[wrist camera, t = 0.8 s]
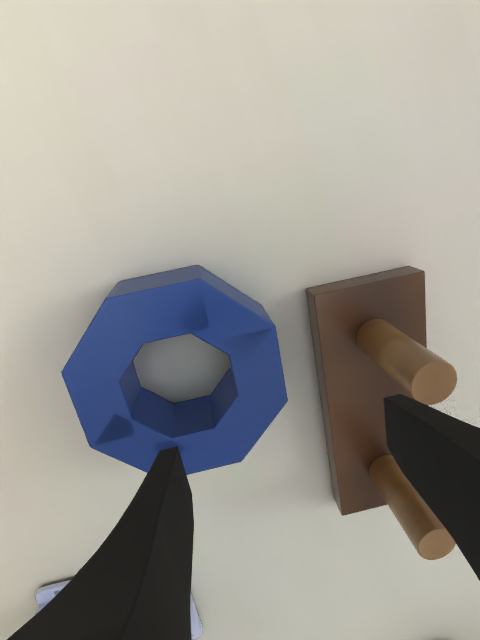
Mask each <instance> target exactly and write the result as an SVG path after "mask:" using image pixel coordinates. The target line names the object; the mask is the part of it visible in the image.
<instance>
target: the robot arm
mask: <svg viewBox="0 0 480 640" xmlns="http://www.w3.org/2000/svg"><path fill="white" fill-rule="evenodd" d="M384 412H385V426H386V440H387V447H388V449H389V451H390V453H391V454H392V456H393V458H394V460H395V461H396V463H397V465H398V466H399V468H400V470H401V471H402V473H403V474H404V475H405V477H406V478H407V479H408V481H409V482H410V483H411V485H412V486H413V487H414V489H415V490H416V491H417V492H418V494H419V495H420V496H421V498H422V499H423V500H424V501H425V503H426V504H427V505H428V507H429V508H430V509H431V510H432V512H433V513H434V514H435V516H436V517H437V518H438V519H439V521H440V522H441V523H442V525H443V526H444V527H445V528H446V530H447V531H448V533H449V534H450V535H451V537H452V538H453V540H454V541H455V542H456V544H457V545H458V547H459V549H460V550H461V552H462V553H463V555H464V556H465V558H466V560H467V561H468V563H469V564H470V566H471V567H472V569H473V571H474V572H475V574H476V575H477V577H478V579H479V580H480V428H478V427H475V426H473V425H470V424H468V423H465V422H463V421H461V420H458V419H456V418H454V417H451V416H449V415H447V414H445V413H442V412H440V411H438V410H436V409H434V408H432V407H429V406H427V405H425V404H423V403H421V402H419V401H416V400H414V399H412V398H410V397H407V396H405V395H402V394H397V395H393V396H389V397H384ZM193 532H194V518H193V503H192V493H191V489H190V486H189V483H188V479H187V476H186V472H185V469H184V466H183V462H182V459H181V455H180V452H179V448H178V446H177V447H173V448H168V449H164V450H160V451H159V453H158V454H157V456H156V458H155V460H154V462H153V464H152V466H151V468H150V470H149V471H148V473H147V475H146V477H145V479H144V481H143V483H142V484H141V486H140V488H139V490H138V491H137V493H136V495H135V496H134V498H133V500H132V502H131V503H130V505H129V506H128V508H127V509H126V511H125V512H124V514H123V516H122V517H121V519H120V520H119V522H118V523H117V525H116V526H115V527H114V529H113V530H112V532H111V533H110V534H109V536H108V537H107V539H106V540H105V541H104V542H103V544H102V545H101V546H100V548H99V549H98V550H97V551H96V552H95V554H94V555H93V556H92V557H91V558H90V559H89V560H88V562H87V563H86V564H85V565H84V566H83V567H82V568H81V569H80V571H79V572H78V573H77V574H76V575H75V576H74V577H73V578H72V579H71V580H67V581H63V582H59V583H55V584H51V585H47V586H43V587H41V588H39V589H38V590H37V592H36V595H35V599H36V601H37V602H38V604H39V606H38V609H37V612H36V614H35V616H34V617H33V618H31V619H30V620H29V621H28V622H27V623H26V624H24V625H23V626H22V627H21V628H20V629H19V630H17V631H16V632H15V633H14V634H13V635H12V636H11V637H9V638H8V639H7V640H192V639H195V638H198V637H200V636H201V635H202V625H201V622H200V619H199V616H198V613H197V609H196V606H195V603H194V600H193V597H192V594H191V575H192V554H193Z"/></svg>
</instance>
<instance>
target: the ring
mask: <svg viewBox="0 0 480 640" xmlns="http://www.w3.org/2000/svg"><path fill="white" fill-rule="evenodd" d="M189 333H191V334H193V335H195V336H196V337H198V338H200V339H202V340H203V341H205V342H207V343H208V344H210V345H212V346H214V347H215V348H217V349H219V350H221V351H222V352H224V353H226V354H228V355H229V359H230V364H231V367H230V369H229V370H228V371H227V373H226V374H225V376H224V377H223V378H222V380H221V381H220V383H219V384H218V385H217V387H216V388H215V390H214V391H213V393H212V394H211V395H209V396H205V397H200V398H196V399H192V400H187V401H183V402H179V403H172V402H170V401H168V400H166V399H164V398H162V397H160V396H158V395H156V394H154V393H152V392H150V391H148V390H146V389H144V388H142V387H141V386H140V383H139V379H138V376H137V373H136V370H135V367H134V364H133V359H134V357H135V356H136V354H137V353H138V351H139V350H140V348H141V346H142V345H143V343H148V342H152V341H157V340H161V339H166V338H170V337H175V336H179V335H184V334H189ZM61 373H62V376H63V379H64V381H65V384H66V386H67V389H68V391H69V394H70V397H71V399H72V402H73V404H74V407H75V410H76V412H77V415H78V417H79V420H80V422H81V425H82V428H83V430H84V433H85V435H86V438H87V441H88V443H89V446H90V447H91V448H93V449H95V450H97V451H100V452H102V453H104V454H106V455H109V456H111V457H113V458H115V459H118V460H120V461H122V462H124V463H127V464H129V465H131V466H133V467H136V468H138V469H140V470H142V471H145V472H147V473H148V471H149V470H150V468H151V466H152V464H153V462H154V460H155V458H156V456H157V454H158V453H159V451H160V450H164V449H168V448H173V447H177V446H178V448H179V452H180V455H181V459H182V462H183V466H184V469H185V472H186V475H188V474H192V473H196V472H200V471H204V470H209V469H213V468H217V467H221V466H225V465H229V464H233V463H238V462H241V461H242V460H243V459H244V458H245V456H246V455H247V454H248V452H249V451H250V450H251V448H252V447H253V446H254V444H255V443H256V442H257V441H258V439H259V438H260V437H261V435H262V434H263V433H264V431H265V430H266V429H267V427H268V426H269V425H270V424H271V422H272V421H273V420H274V418H275V417H276V416H277V414H278V413H279V412H280V410H281V409H282V408H283V407H284V405H285V404H286V403H287V401H288V399H287V393H286V387H285V381H284V375H283V369H282V363H281V357H280V351H279V345H278V339H277V333H276V327H275V325H274V324H273V322H272V320H271V319H270V317H269V316H268V314H267V312H266V311H265V309H264V308H263V306H262V305H261V304H259V303H258V302H256V301H255V300H253V299H251V298H250V297H248V296H247V295H245V294H244V293H242V292H240V291H239V290H237V289H236V288H234V287H233V286H231V285H229V284H228V283H226V282H225V281H223V280H222V279H220V278H218V277H217V276H215V275H214V274H212V273H211V272H209V271H207V270H206V269H204V268H203V267H201V266H198V265H194V266H189V267H185V268H180V269H175V270H170V271H166V272H161V273H156V274H151V275H147V276H142V277H137V278H133V279H128V280H123V281H120V282H118V283H117V285H116V286H115V287H114V289H113V290H112V291H111V292H110V294H109V295H108V296H107V297H106V299H105V300H104V302H103V304H102V305H101V307H100V309H99V310H98V312H97V314H96V315H95V317H94V319H93V320H92V322H91V324H90V325H89V327H88V329H87V330H86V332H85V334H84V335H83V337H82V339H81V340H80V342H79V344H78V345H77V347H76V349H75V350H74V352H73V354H72V355H71V357H70V359H69V360H68V362H67V364H66V365H65V367H64V369H63V370H62V372H61Z"/></svg>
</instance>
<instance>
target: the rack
mask: <svg viewBox="0 0 480 640" xmlns="http://www.w3.org/2000/svg"><path fill="white" fill-rule="evenodd" d="M306 293H307V301H308V308H309V316H310V323H311V330H312V338H313V345H314V353H315V360H316V368H317V375H318V382H319V390H320V397H321V405H322V412H323V420H324V427H325V434H326V442H327V449H328V457H329V464H330V472H331V479H332V486H333V494H334V499H335V502H336V504H337V506H338V508H339V510H340V512H341V514H342V516H343V515H347V514H351V513H355V512H359V511H363V510H367V509H371V508H375V507H379V506H383V505H387V504H388V506H389V507H390V509H391V510H392V512H393V514H394V515H395V517H396V518H397V520H398V522H399V523H400V525H401V526H402V528H403V530H404V531H405V533H406V534H407V536H408V537H409V539H410V541H411V542H412V544H413V545H414V547H415V549H416V550H417V552H418V553H419V555H420V556H421V557H423V558H425V559H428V560H435V559H439V558H442V557H444V556H446V555H447V554H448V553H450V552H451V551H452V549H453V548H454V546H455V544H456V542H455V541H454V540H453V538H452V537H451V535H450V534H449V533H448V531H447V530H446V528H445V527H444V526H443V525H442V523H441V522H440V521H439V519H438V518H437V517H436V516H435V514H434V513H433V512H432V510H431V509H430V508H429V507H428V505H427V504H426V503H425V501H424V500H423V499H422V498H421V496H420V495H419V494H418V492H417V491H416V490H415V489H414V487H413V486H412V485H411V483H410V482H409V481H408V479H407V478H406V477H405V475H404V474H403V473H402V471H401V470H400V468H399V466H398V465H397V463H396V461H395V460H394V458H393V456H392V454H391V453H390V451H389V449H388V447H387V440H386V426H385V412H384V397H389V396H393V395H397V394H402V395H405V396H407V397H410V398H412V399H414V400H416V401H419V402H421V403H423V404H425V405H427V406H428V405H432V404H436V403H439V402H441V401H443V400H445V399H446V398H447V397H448V396H449V395H450V394H451V393H452V392H453V390H454V388H455V386H456V382H457V374H456V371H455V369H454V367H453V366H452V365H451V364H449V363H448V362H446V361H445V360H443V359H442V358H440V357H439V356H437V355H436V354H434V353H433V352H431V351H430V350H428V349H427V347H426V308H425V272H424V271H422V270H419V269H417V268H414V267H411V266H407V267H403V268H398V269H393V270H389V271H384V272H380V273H375V274H370V275H366V276H361V277H357V278H352V279H347V280H343V281H338V282H334V283H329V284H324V285H320V286H315V287H311V288H307V289H306Z"/></svg>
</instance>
